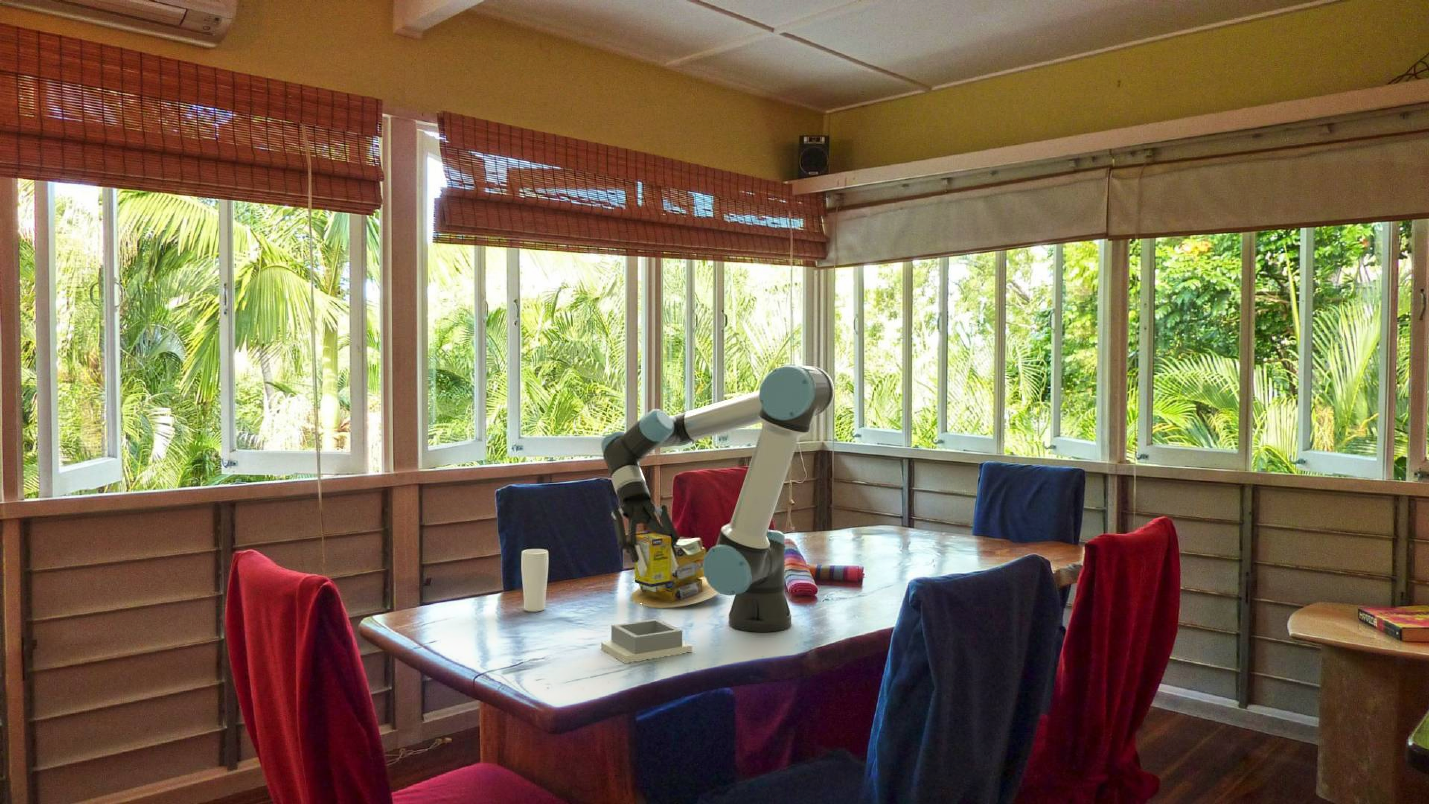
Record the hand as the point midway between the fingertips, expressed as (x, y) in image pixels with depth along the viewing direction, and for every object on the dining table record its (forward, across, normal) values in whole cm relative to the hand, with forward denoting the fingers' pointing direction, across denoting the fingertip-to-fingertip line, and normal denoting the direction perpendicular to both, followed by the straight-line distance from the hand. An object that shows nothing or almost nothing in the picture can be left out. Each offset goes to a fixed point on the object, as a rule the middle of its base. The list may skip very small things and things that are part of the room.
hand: (659, 571), depth 213 cm
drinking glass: (-17, +15, -41) cm, 47 cm away
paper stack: (-13, -23, -38) cm, 46 cm away
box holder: (+15, +5, -8) cm, 17 cm away
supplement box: (0, 0, -5) cm, 5 cm away
